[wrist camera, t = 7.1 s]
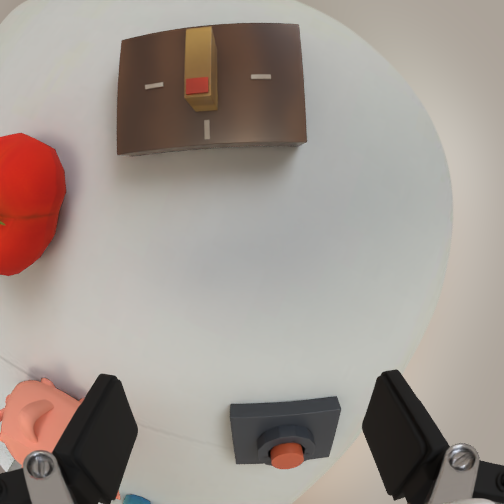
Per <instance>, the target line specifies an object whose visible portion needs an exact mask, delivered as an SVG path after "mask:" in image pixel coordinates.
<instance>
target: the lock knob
mask: <svg viewBox="0 0 504 504" xmlns="http://www.w3.org/2000/svg"><path fill="white" fill-rule="evenodd" d="M184 98H185V100H186V101H187V102H188V103H189V104H190V106H191V107H192V108H193V109H194V110H195V111H196V112H198V111H211V110H218V91H217V47H216V43H215V39H214V35H213V30H212V27H201V28H192V29H186V41H185V73H184Z"/></svg>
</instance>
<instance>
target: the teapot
mask: <svg viewBox="0 0 504 504" xmlns="http://www.w3.org/2000/svg"><path fill="white" fill-rule="evenodd" d="M84 399H85V398H82V399H80V401H77V400H76V399H74V398H73V397H71V396H69V395H68V394H66V393H64V392H62V391H60V390H58V389H56V388H55V386H54V384H53V383H52V382H51V381H50V380H48V379H46V378H42V379H41V382H39V381H35V380H29V381H24V382H21V383H19V384H18V385H17V386H16V387H15V388H14V390H13V391H12V393H11V394H10V395H8V396H7V397H6V401H5V402H6V406H5V408H3V409H1V410H0V422H1V421H2V425H1V433H0V441H2V442H4V443H5V445H6V447H7V448H8V450H9V452H10V453H11V455H12V456H13V457H14V459H15V460H16V461H17V462H18V463H20V464H21V465H22V467H21V468H23V462H24V459H25V458H26V456H27V455H28V454H30V453H31V452H33V451H36V450H45V451H48V452H50V453H52V451H53V450H54V448H55V446H56V444H57V443H58V441H59V439H60V437H61V435H62V434H63V432H64V430H65V429H66V427H67V425H68V423H69V422H70V420H71V418H72V417H73V415H74V413H75V412H76V410H77V408H78V407H79V406H80V404H81V403H82V402H83V400H84ZM116 499H119V500H120V494H119V490H118V493H117V496H116Z"/></svg>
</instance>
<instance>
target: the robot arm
mask: <svg viewBox="0 0 504 504" xmlns="http://www.w3.org/2000/svg"><path fill="white" fill-rule="evenodd" d="M362 429H363V433H364V435H365V438H366V440H367V443H368V445H369V448H370V450H371V452H372V455H373V458H374V460H375V463H376V465H377V468H378V470H379V473H380V476H381V478H382V480H383V483H384V486H385V488H386V491H387V493H388V495H392V496H393V499H394V500H397V499H401V498H404V497H405V498H406V500H407V503H408V504H504V466H502V465H498V464H492V463H489V462H484V461H480V460H479V455H478V452H477V451H476V449H475V448H473V447H472V446H471V445H468V444H465V443H464V444H463V443H459V444H455V445H453V446H451V447H450V446H449V445H448V443H447V441H446V440H445V438H444V437H443V435H442V434H441V432H440V430H439V429H438V427H437V426H436V424H435V423H434V421H433V420H432V418H431V416H430V415H429V413H428V412H427V410H426V409H425V407H424V406H423V404H422V403H421V401H420V400H419V399H418V398H417V397H416V395H415V394H414V392H413V391H412V389H411V388H410V386H409V385H408V383H407V382H406V381H405V379H404V378H403V376H402V375H401V373H400V372H399V371H398V370H391V371H385V372H382V374H381V376H379V377H378V378H377V380H376V383H375V387H374V390H373V393H372V396H371V400H370V403H369V406H368V409H367V412H366V415H365V417H364V420H363V423H362ZM137 433H138V427H137V424H136V422H135V419H134V417H133V414H132V411H131V409H130V406H129V403H128V400H127V397H126V395H125V392H124V389H123V386H122V383H121V381H120V380H118V379H117V377H116V376H114V375H107V374H100V375H99V376H98V378H97V379H96V381H95V382H94V384H93V386H92V387H91V389H90V390H89V392H88V394H87V395H86V397H85V399H84V400H83V402H82V403H81V404H80V406H79V407H78V408H77V410H76V412H75V413H74V415H73V417H72V418H71V420H70V422H69V423H68V425H67V427H66V429H65V430H64V432H63V434H62V435H61V437H60V439H59V441H58V443H57V444H56V446H55V448H54V450H53V451H52V453H50V452H48V451H45V450H36V451H33V452H31V453H30V454H28V455H27V456H26V458H25V459H24V462H23V468H20V469H17V470H13V471H9V472H5V473H1V474H0V504H98V502H100V503H103V504H110V503H111V500H115V498H116V496H117V493H118V490H119V487H120V484H121V481H122V478H123V475H124V472H125V469H126V466H127V463H128V460H129V457H130V454H131V451H132V448H133V445H134V442H135V440H136V437H137Z"/></svg>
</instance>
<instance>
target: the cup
mask: <svg viewBox="0 0 504 504" xmlns="http://www.w3.org/2000/svg"><path fill="white" fill-rule="evenodd" d="M123 504H151V503H150V501H148V500H146V499H144V498H143V497H139V496H136V495H126V497H125V499H124V502H123Z"/></svg>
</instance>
